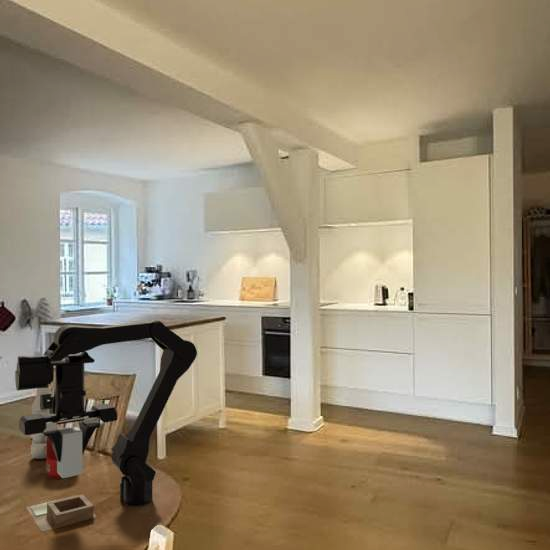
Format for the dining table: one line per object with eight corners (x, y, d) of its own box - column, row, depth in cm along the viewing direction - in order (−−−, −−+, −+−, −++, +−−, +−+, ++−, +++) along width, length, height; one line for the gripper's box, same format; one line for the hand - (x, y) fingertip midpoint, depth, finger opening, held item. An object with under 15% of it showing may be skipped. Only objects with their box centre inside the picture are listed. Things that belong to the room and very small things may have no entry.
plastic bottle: (32, 455, 153) (32, 386, 153) (57, 453, 155) (57, 384, 155) (29, 462, 146) (29, 390, 147) (55, 460, 148) (55, 389, 149)
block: (82, 474, 111) (82, 431, 111) (62, 478, 109) (62, 434, 109) (76, 468, 115) (76, 426, 115) (57, 472, 112) (57, 430, 112)
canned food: (67, 480, 134) (67, 436, 134) (39, 477, 136) (39, 434, 136) (84, 469, 142) (84, 428, 142) (57, 467, 143) (57, 426, 143)
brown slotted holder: (97, 521, 111) (97, 504, 111) (41, 536, 105) (41, 519, 105) (77, 499, 123) (77, 484, 123) (25, 511, 116) (25, 495, 116)
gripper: (101, 374, 124) (100, 441, 124) (13, 384, 113) (13, 457, 113) (118, 382, 115) (118, 454, 115) (25, 393, 104) (25, 473, 104)
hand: (69, 459), depth 112 cm, fingers closed on block, 4 cm apart
